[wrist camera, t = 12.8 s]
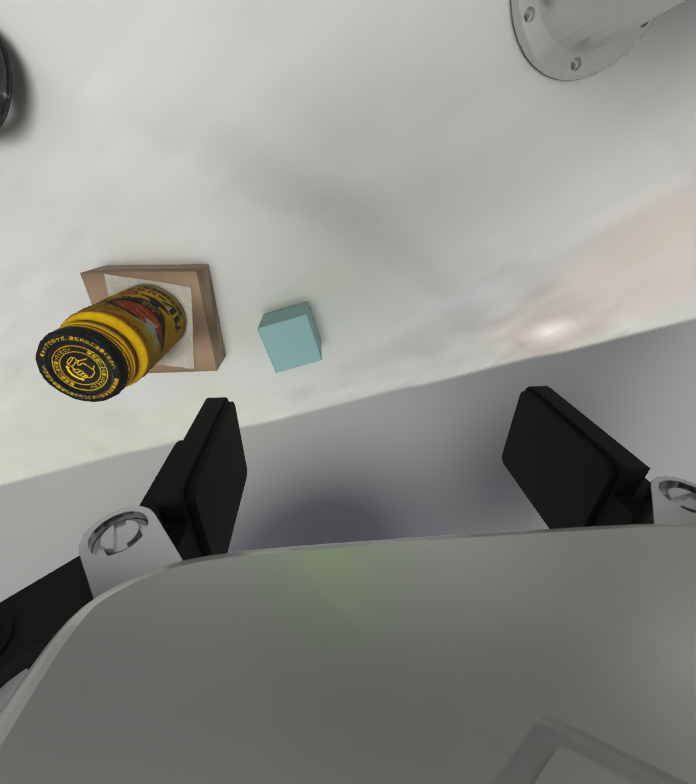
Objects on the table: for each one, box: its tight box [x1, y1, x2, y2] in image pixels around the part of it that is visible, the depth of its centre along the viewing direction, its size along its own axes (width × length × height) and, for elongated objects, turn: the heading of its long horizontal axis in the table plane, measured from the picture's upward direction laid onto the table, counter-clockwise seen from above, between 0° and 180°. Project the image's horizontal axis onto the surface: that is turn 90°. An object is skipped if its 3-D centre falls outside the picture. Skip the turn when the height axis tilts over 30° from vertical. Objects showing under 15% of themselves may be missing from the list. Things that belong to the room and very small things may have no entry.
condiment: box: [36, 274, 194, 402], centre depth 27 cm, size 7×8×12 cm
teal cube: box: [257, 302, 322, 373], centre depth 36 cm, size 5×5×5 cm
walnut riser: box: [80, 265, 226, 373], centre depth 34 cm, size 10×10×4 cm
